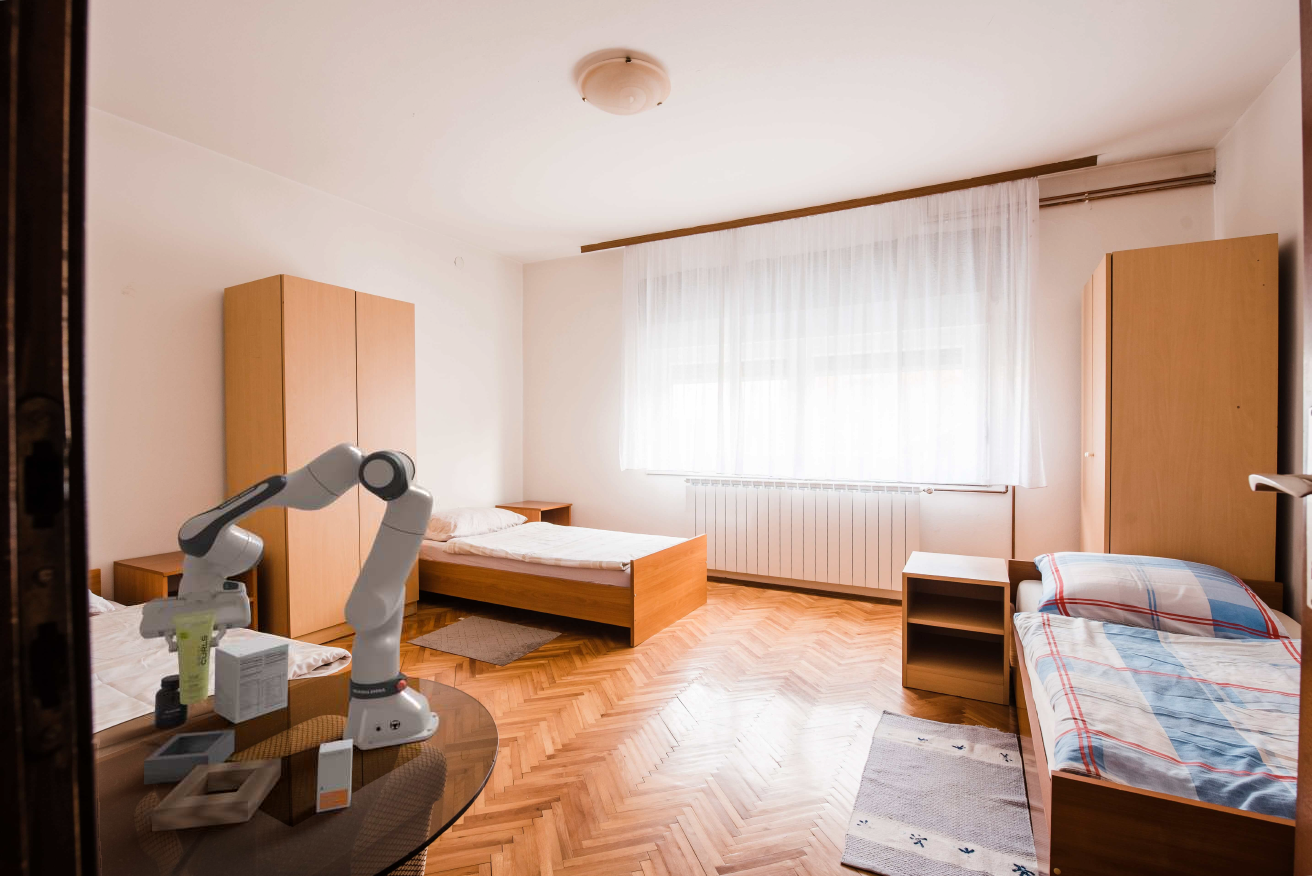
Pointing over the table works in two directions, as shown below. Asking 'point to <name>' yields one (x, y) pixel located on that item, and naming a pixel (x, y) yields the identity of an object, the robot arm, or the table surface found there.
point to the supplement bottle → (169, 704)
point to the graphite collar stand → (187, 755)
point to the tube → (194, 654)
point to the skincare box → (334, 775)
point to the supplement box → (250, 678)
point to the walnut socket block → (202, 810)
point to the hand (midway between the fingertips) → (194, 648)
